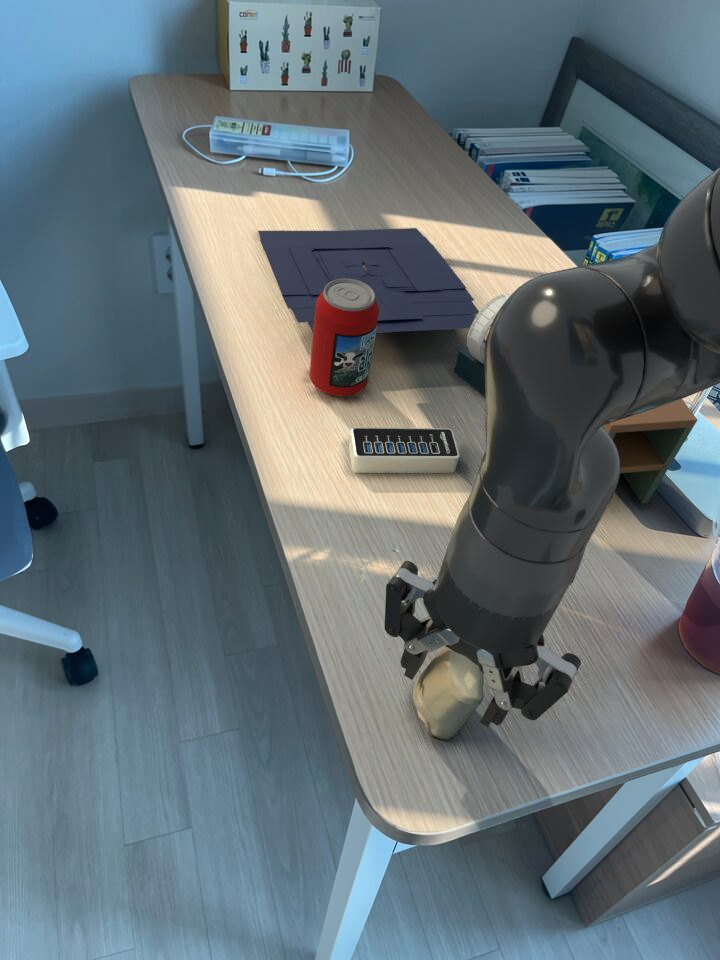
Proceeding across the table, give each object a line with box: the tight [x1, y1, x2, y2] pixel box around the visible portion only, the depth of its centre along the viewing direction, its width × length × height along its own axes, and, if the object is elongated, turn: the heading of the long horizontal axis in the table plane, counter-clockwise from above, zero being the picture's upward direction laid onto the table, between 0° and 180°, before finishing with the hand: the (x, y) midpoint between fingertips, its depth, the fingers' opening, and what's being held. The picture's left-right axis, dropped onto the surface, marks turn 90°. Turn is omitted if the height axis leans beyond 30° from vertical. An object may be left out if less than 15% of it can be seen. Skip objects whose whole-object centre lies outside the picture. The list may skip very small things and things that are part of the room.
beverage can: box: [309, 279, 379, 397], centre depth 83 cm, size 7×7×12 cm
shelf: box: [601, 398, 698, 505], centre depth 78 cm, size 11×9×12 cm
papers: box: [257, 227, 480, 334], centre depth 99 cm, size 24×30×4 cm
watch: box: [453, 293, 511, 397], centre depth 87 cm, size 6×8×11 cm
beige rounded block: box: [412, 646, 485, 742], centre depth 58 cm, size 6×5×8 cm
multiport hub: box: [348, 427, 460, 474], centre depth 79 cm, size 4×11×2 cm, turn 97°
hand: (451, 692), depth 58 cm, fingers open, 6 cm apart
